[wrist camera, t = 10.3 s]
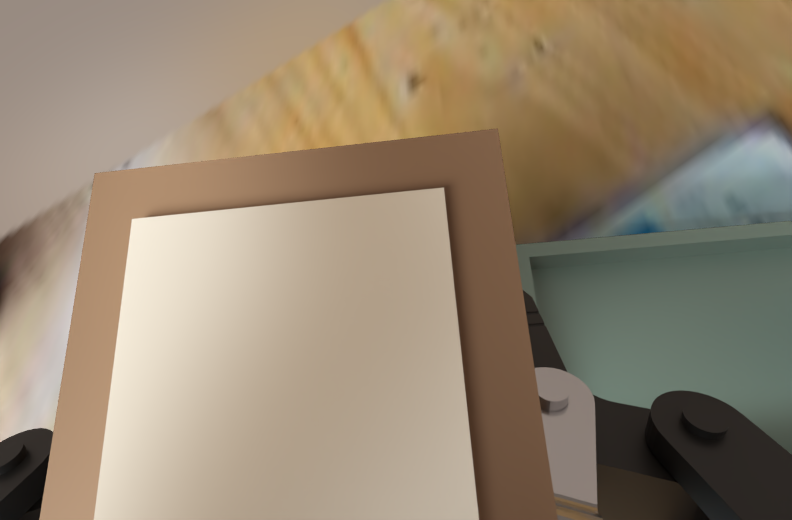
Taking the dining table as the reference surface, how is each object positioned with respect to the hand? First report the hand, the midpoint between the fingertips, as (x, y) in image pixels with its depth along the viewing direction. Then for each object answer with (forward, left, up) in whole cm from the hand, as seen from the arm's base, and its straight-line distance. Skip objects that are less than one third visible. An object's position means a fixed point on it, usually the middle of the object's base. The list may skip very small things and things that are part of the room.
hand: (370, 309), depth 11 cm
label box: (+2, -1, -5) cm, 5 cm away
